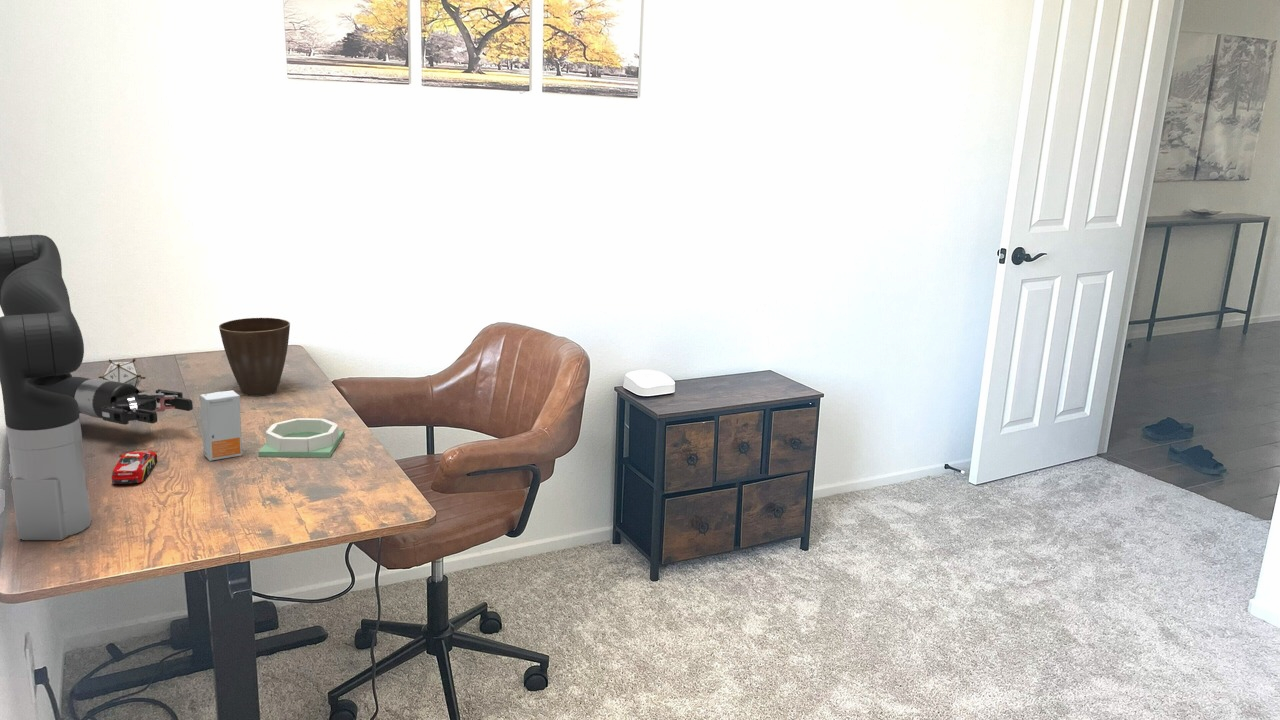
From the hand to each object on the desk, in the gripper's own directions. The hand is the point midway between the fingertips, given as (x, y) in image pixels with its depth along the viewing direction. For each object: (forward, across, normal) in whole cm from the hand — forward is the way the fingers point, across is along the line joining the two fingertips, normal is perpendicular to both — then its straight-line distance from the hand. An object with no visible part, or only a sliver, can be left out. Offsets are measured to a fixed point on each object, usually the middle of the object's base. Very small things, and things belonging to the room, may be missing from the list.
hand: (173, 411), depth 173 cm
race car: (+4, -13, +8) cm, 16 cm away
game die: (-35, +21, +7) cm, 42 cm away
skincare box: (+11, 0, +7) cm, 13 cm away
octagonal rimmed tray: (+20, +11, +7) cm, 24 cm away
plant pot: (-11, +36, +7) cm, 38 cm away
